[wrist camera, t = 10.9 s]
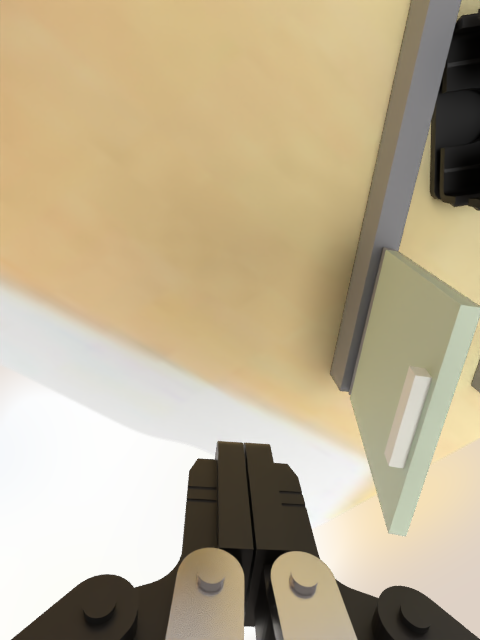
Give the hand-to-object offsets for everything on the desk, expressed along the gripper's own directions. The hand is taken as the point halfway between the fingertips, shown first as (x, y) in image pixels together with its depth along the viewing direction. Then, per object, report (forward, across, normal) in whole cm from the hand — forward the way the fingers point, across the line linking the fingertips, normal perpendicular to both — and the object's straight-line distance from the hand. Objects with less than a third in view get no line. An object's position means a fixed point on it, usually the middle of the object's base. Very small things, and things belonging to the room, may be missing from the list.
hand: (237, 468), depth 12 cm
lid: (+9, -9, 0) cm, 12 cm away
